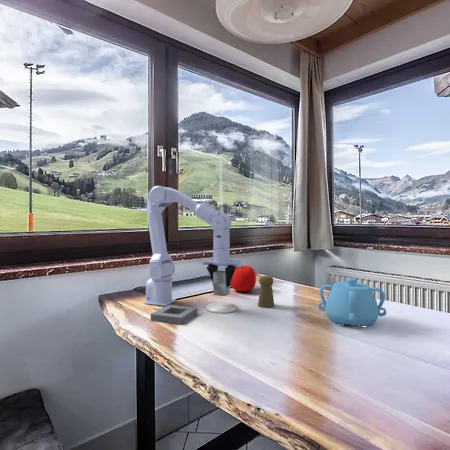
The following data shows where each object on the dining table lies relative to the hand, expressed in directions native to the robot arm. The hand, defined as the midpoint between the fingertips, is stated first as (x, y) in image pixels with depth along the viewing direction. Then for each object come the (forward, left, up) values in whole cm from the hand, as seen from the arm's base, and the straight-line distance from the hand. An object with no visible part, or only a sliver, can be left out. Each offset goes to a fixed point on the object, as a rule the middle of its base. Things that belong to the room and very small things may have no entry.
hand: (221, 286), depth 114 cm
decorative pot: (+43, +2, -8) cm, 44 cm away
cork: (+14, +9, -8) cm, 19 cm away
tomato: (-1, +27, -8) cm, 28 cm away
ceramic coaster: (0, 0, -8) cm, 8 cm away
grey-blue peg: (0, 0, -3) cm, 3 cm away
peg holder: (-11, -14, -8) cm, 20 cm away
